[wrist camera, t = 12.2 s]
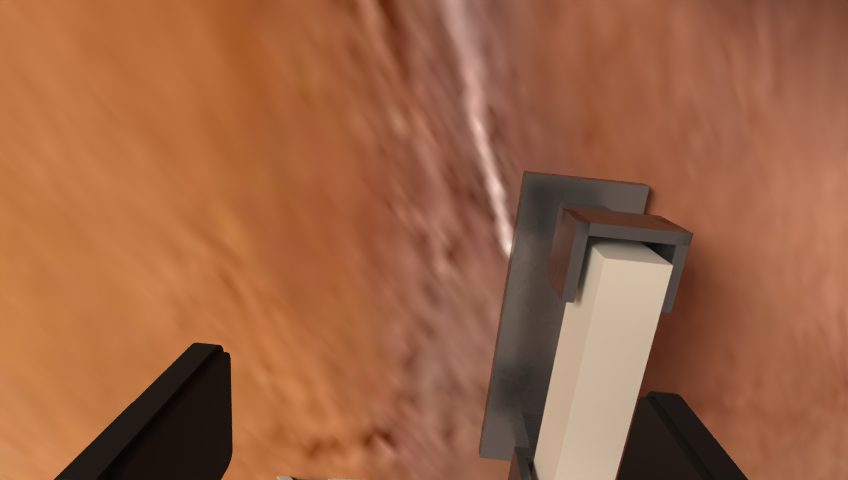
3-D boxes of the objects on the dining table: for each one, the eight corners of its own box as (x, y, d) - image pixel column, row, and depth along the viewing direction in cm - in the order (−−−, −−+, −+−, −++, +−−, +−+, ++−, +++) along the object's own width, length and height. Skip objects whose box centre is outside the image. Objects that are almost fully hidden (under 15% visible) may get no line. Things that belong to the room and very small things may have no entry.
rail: (580, 234, 32) (604, 258, 27) (638, 240, 32) (673, 265, 27) (527, 490, 39) (540, 546, 34) (576, 495, 39) (595, 552, 34)
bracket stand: (523, 171, 39) (556, 199, 28) (643, 183, 39) (723, 216, 28) (478, 448, 47) (490, 555, 36) (578, 459, 47) (620, 569, 36)
